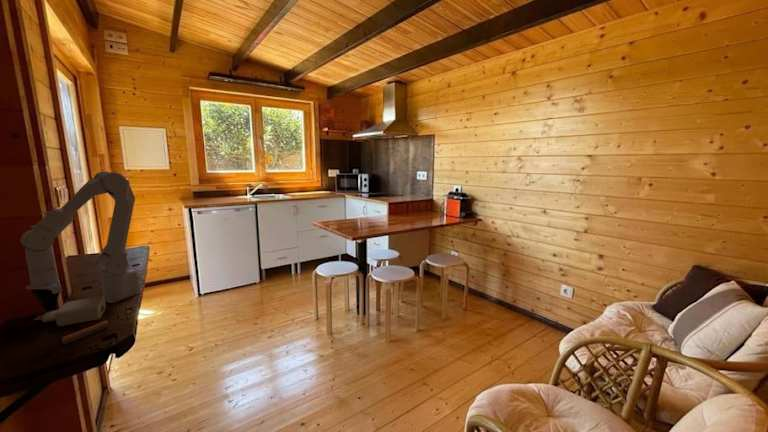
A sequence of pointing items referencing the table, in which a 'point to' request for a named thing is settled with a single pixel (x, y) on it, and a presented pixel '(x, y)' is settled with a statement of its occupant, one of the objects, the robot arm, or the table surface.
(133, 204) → the robot arm
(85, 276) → the table surface
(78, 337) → the brown stick
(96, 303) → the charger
